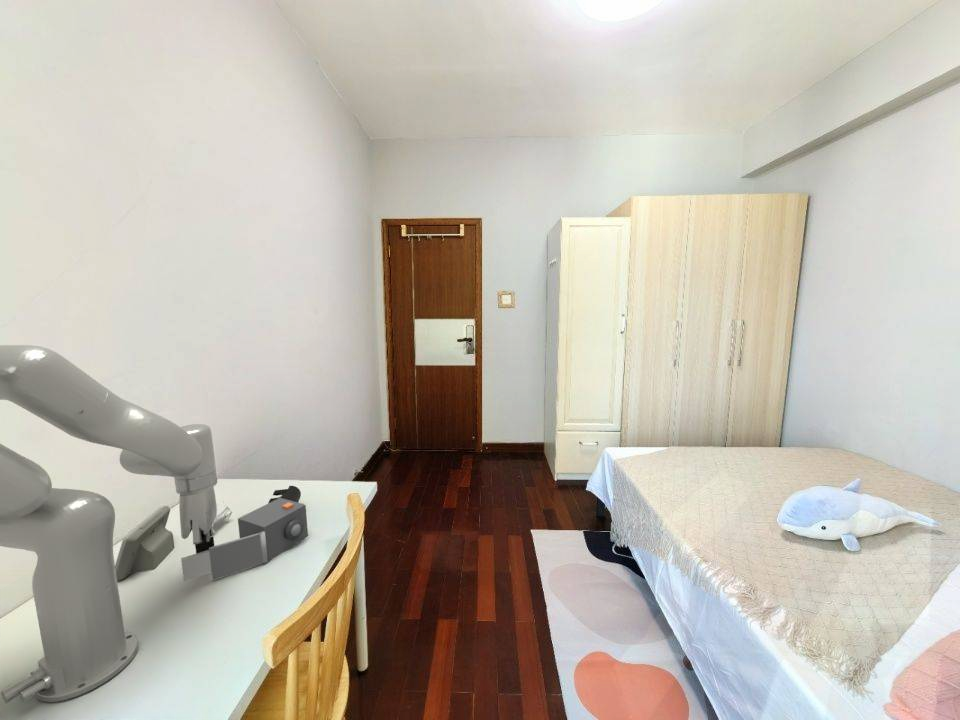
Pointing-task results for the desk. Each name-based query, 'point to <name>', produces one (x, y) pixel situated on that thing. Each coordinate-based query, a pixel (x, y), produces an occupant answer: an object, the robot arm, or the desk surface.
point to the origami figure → (222, 511)
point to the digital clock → (145, 545)
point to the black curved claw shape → (288, 494)
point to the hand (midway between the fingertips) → (206, 555)
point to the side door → (227, 557)
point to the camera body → (276, 525)
